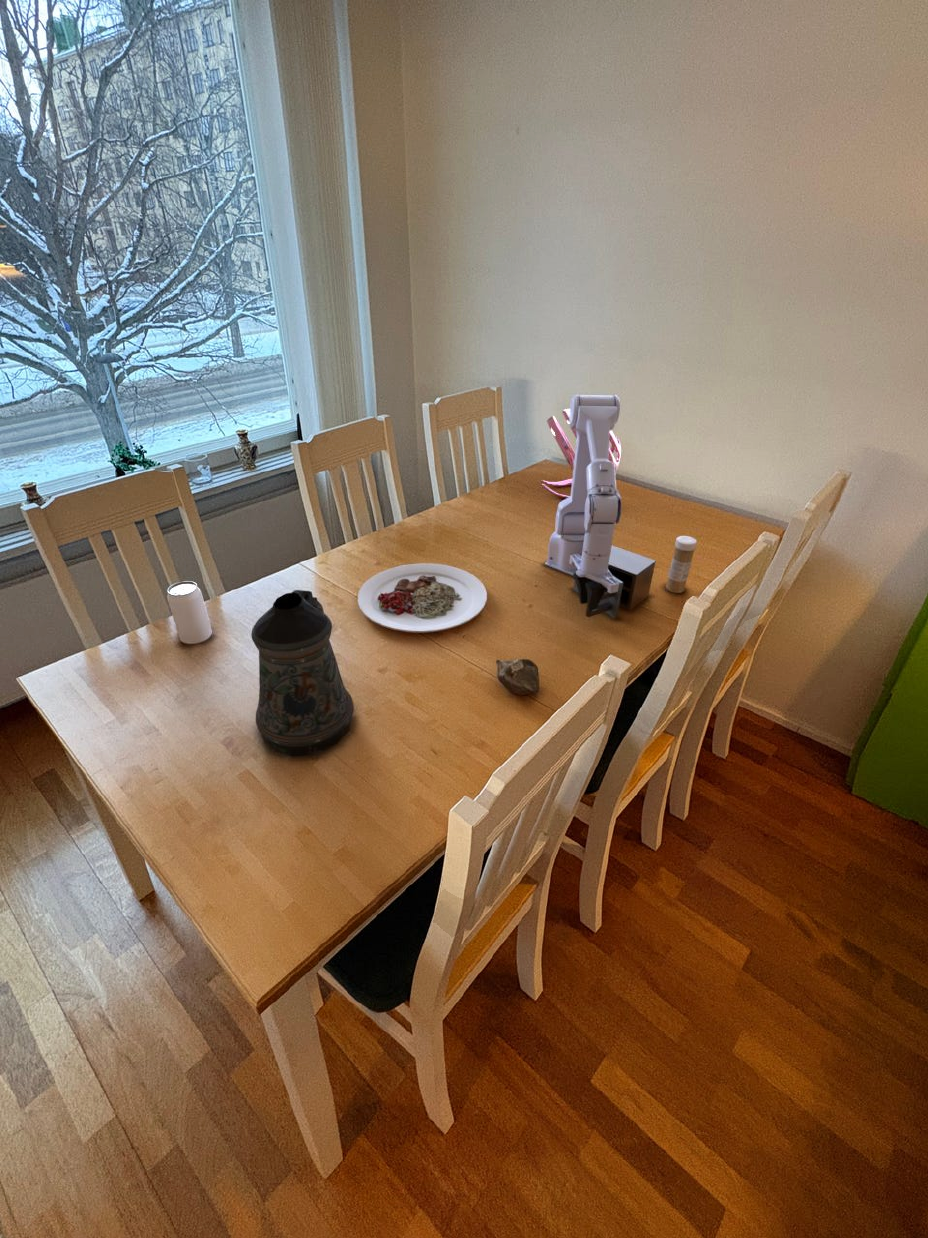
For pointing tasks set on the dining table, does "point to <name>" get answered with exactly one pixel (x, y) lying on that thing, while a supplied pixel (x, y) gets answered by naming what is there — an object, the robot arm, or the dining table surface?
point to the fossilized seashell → (519, 676)
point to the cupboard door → (606, 602)
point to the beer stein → (299, 678)
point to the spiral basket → (570, 452)
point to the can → (189, 612)
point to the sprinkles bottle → (681, 564)
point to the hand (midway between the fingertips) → (588, 605)
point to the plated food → (422, 597)
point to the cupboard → (631, 575)
